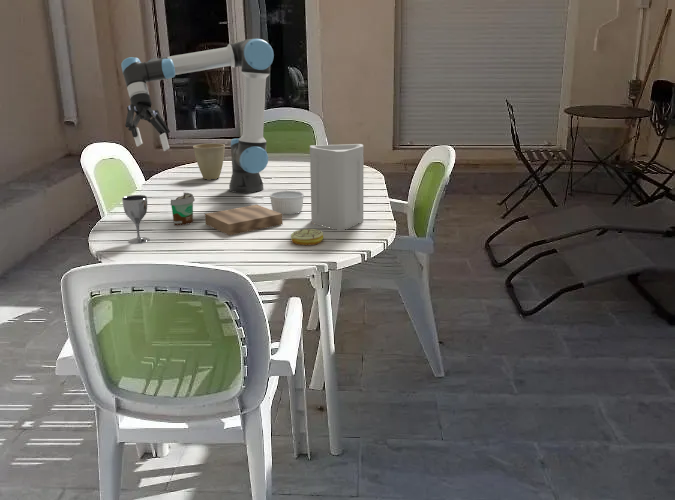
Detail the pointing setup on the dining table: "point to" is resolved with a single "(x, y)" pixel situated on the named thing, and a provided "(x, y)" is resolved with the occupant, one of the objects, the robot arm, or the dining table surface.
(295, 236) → the decorated donut
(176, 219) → the food container
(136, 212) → the wine glass
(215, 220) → the walnut stand
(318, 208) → the white triangular vase
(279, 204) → the ramekin
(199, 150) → the plant pot
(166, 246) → the dining table surface
